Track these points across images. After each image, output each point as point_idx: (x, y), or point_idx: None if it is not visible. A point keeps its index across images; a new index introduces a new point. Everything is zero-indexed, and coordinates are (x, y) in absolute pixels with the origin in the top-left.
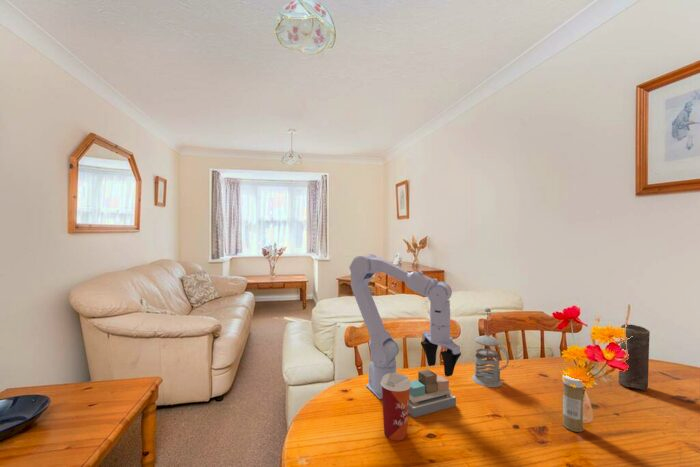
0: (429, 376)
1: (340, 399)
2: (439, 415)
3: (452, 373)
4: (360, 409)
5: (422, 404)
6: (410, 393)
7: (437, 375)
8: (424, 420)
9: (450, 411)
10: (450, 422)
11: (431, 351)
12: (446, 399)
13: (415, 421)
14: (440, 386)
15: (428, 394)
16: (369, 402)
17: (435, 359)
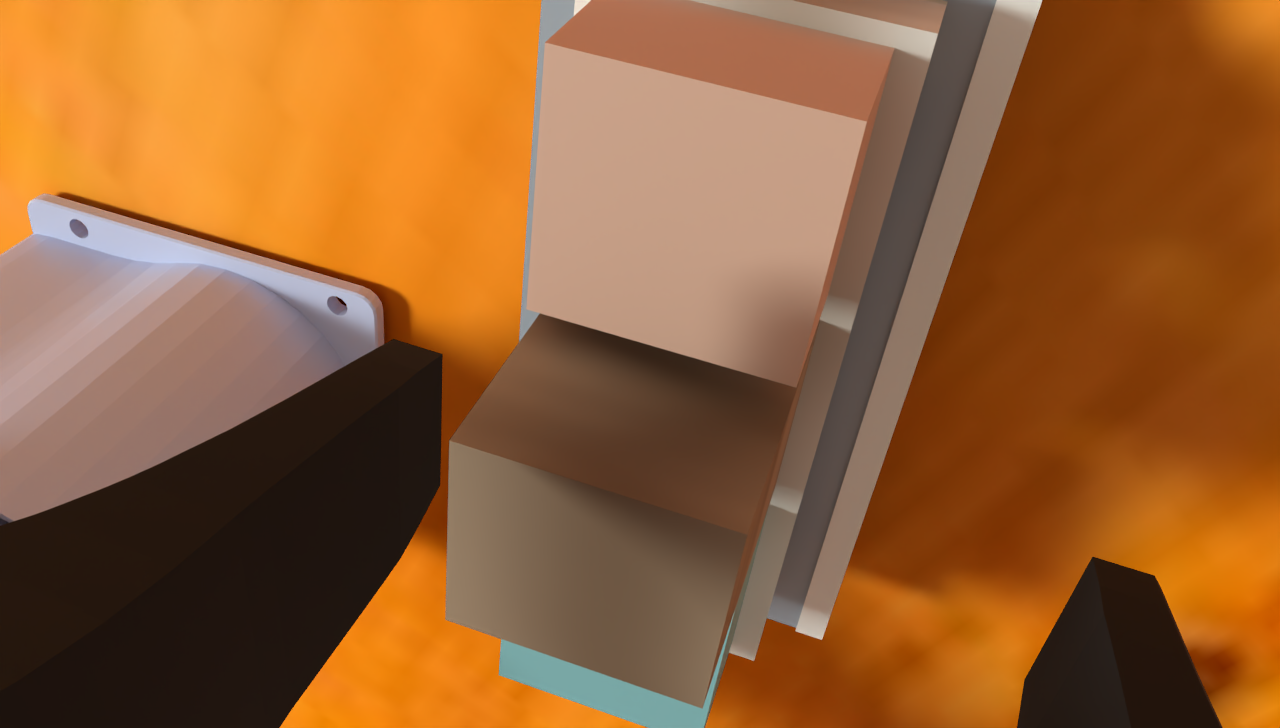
0: (713, 660)
1: None
2: (1026, 329)
3: (1168, 622)
4: (464, 713)
5: (831, 522)
6: None
7: (541, 115)
8: (960, 524)
9: (1087, 126)
10: (1243, 361)
11: (196, 723)
12: (979, 172)
13: (905, 591)
14: (826, 289)
15: (801, 475)
16: (395, 604)
17: (360, 429)
